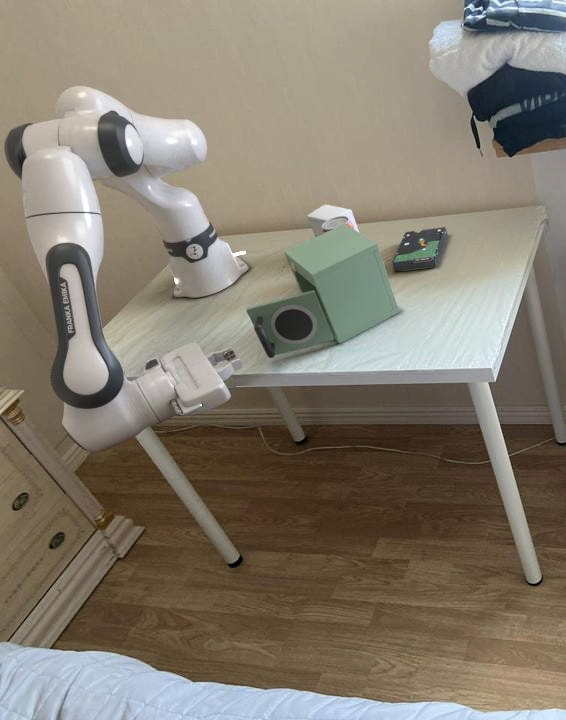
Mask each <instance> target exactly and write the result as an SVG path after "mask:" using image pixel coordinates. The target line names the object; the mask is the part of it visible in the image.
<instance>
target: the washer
mask: <svg viewBox="0 0 566 720" xmlns="http://www.w3.org/2000/svg"><path fill="white" fill-rule="evenodd" d="M283 253H284V256H285V258H286V260H287V262H288V265H289V267H290V269H291V272H292V274H293V277H294V279H295V281H296V284H297V286H298V288H299V289H298V290H299V291H300V293H304V292H308V291H312V290H315V292H316V295H317V297H318V300H319V302H320V305H321V307H322V310H323V312H324V314H325V317H326V319H327V322H328V324H329V327H330V329H331V332H332V334H333V337H334V340H335V341H336V342H337V343H339V344H342V343H345V342H346V341H348V340H350V339H352V338H354V337H356V336H357V335H360V334H361V333H363V332H365V331H368V330H369V329H371V328H373V327H374V326H377V325H379V324H380V323H383V322H385V321H386V320H388V319H390V318H391V317H393V316H395V315H398V314H399V313H400V309H399V306H398V303H397V300H396V297H395V294H394V291H393V288H392V286H391V283H390V282H391V281H390V279H389V276H388V272H387V269H386V267H385V264H384V260H383V258H382V255H381V251H380V249H379V245H378V243H377V242H375V241H374V240H372V239H370V238H369V237H367V236H365V235H364V234H362V233H360V231H359V232H357V231H356V230H354V229H353V228H351V227H349V226H348V225H346V224H343V225H341V226H339V227H337V228H335V229H333V230H330V231H328V232H326V233H324V234H322V235H319V236H317V237H315V236H314V237H313V238H311V239H309V240H306V241H305V242H302V243H300V244H298V245H296V246H294V247H291V248H289V249H287V250H285V251H283Z"/></svg>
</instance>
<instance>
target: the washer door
mask: <svg viewBox="0 0 566 720" xmlns="http://www.w3.org/2000/svg"><path fill="white" fill-rule="evenodd" d="M245 311H246V313H247V315H248V317H249V319H250V321H251V323H252V326H253V329H254V331H255V332H254V333H255V334H256V336H257V338H258V340H259V342H260V344H261V346H262V348H263V350H264V352H265V355H266V356H267V358H268V359H274V358H275V356H279V355H282V354H286V353H290V352H294V351H298V350H300V349H304V348H308V347H313V346H316V345H320V344H324V343H326V342H331V341H334V340H335V339H334V337H333V334H332V332H331V329H330V327H329V324H328V322H327V319H326V317H325V314H324V312H323V310H322V307H321V305H320V302H319V300H318V297H317V295H316V292H315V290H312V291H308V292H304V293H301V292H300V293H297V294H293V295H289V296H286V297H285V296H284V297H282V298H279V299H275V300H272V301H266V302H262V303H259V304H256V305H252V306H248V307H246V309H245Z"/></svg>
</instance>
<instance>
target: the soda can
mask: <svg viewBox="0 0 566 720" xmlns="http://www.w3.org/2000/svg"><path fill="white" fill-rule="evenodd" d="M343 224H346V225H348V226H349V227H351V228H353V229H354V226H353V224H352V223H351V222H350V221H349V219H348V217H346V216H339V217H335V218H332V219H329V220H327V221H326V222H325V223H323V225H322V229H323V231H322V234H324V233H326V232H328V231H330V230H333V229H335V228H337V227H339V226H341V225H343ZM354 230H355V229H354Z"/></svg>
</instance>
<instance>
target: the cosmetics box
mask: <svg viewBox="0 0 566 720" xmlns="http://www.w3.org/2000/svg"><path fill="white" fill-rule="evenodd" d="M339 216H346V217H348V219H349V221H350V222H351V223H352V224H353V226H354V229H355V230H356V231H357V232H359V233H360V230H359V228H358V225H357V222H356V219H355V216H354V213H353V210H352V209H350V208H346V207H340V206H336V205H330V204H326V203H325V204H323V205H321V206H320V207H317V208H316V209H315V210H313V211H312V212H310V213H309V214H307V215H306V217H307V221H308V223H309V225H310V228H311V230H312V233H313V235H314V238H315V237H317V236H319V235H322V231H323V229H322V225H323V223H325V222H326V221H327V220H329V219H332V218H335V217H339Z"/></svg>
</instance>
